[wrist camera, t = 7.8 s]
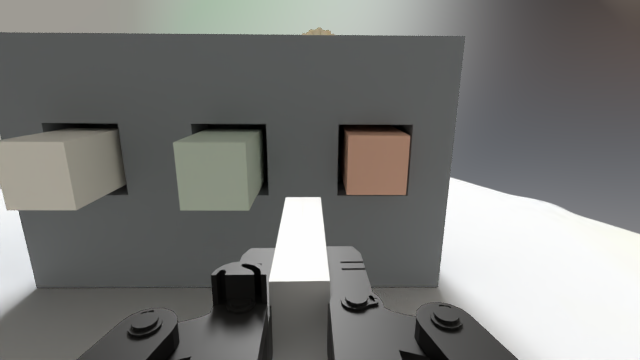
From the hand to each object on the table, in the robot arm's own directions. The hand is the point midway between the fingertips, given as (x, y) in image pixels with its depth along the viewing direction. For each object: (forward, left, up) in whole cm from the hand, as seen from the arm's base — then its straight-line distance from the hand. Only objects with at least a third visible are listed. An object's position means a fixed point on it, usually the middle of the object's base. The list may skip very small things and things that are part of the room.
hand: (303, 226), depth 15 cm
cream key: (-17, +11, -2) cm, 20 cm away
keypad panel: (-6, +16, -11) cm, 20 cm away
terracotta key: (+5, +14, -2) cm, 15 cm away
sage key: (-6, +10, -2) cm, 12 cm away
